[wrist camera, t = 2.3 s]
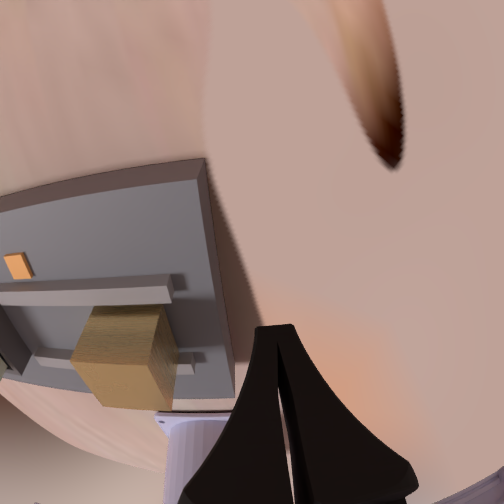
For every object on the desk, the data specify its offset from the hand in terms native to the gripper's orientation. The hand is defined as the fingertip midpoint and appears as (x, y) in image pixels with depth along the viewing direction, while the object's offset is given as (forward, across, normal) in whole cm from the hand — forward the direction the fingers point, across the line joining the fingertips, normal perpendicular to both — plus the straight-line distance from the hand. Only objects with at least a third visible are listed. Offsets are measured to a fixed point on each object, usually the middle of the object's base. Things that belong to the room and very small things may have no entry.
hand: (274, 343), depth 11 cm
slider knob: (+1, +6, 0) cm, 6 cm away
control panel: (+4, +14, 0) cm, 14 cm away
